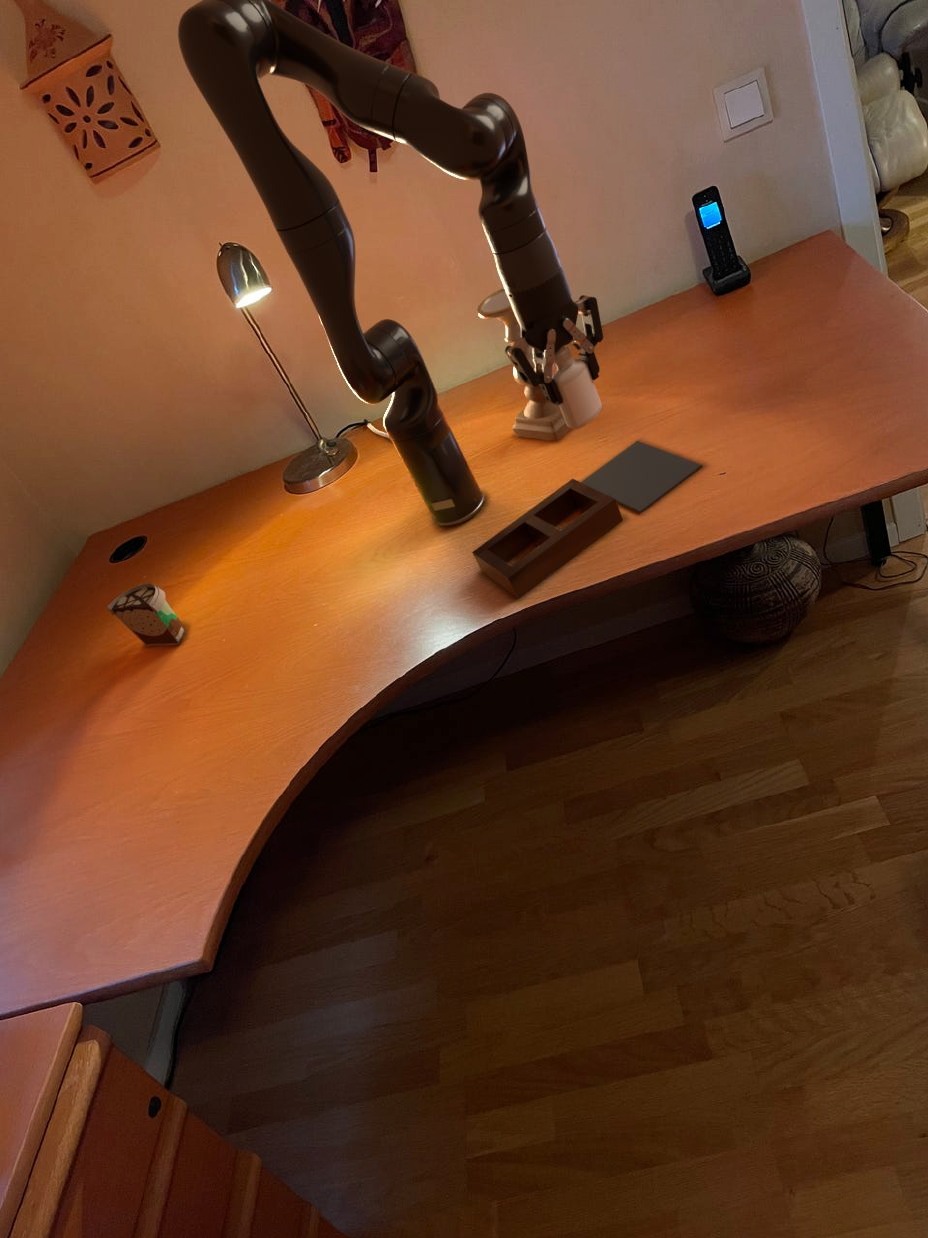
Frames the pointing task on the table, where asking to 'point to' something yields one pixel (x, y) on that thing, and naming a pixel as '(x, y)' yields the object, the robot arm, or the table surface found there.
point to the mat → (641, 475)
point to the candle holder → (539, 413)
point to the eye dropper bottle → (575, 389)
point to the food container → (148, 615)
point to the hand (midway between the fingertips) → (575, 390)
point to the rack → (547, 536)
